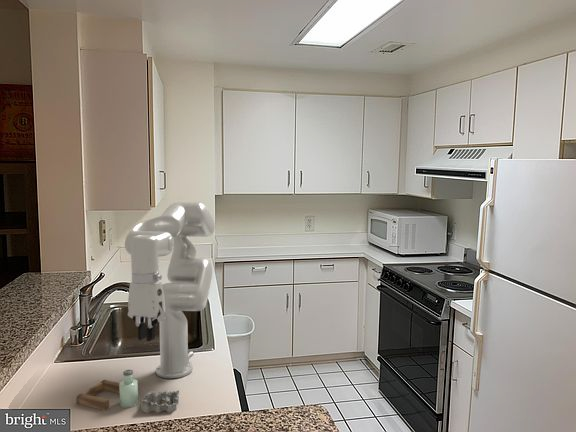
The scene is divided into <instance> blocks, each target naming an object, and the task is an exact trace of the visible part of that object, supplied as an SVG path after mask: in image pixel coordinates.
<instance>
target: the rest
mask: <svg viewBox="0 0 576 432" xmlns="http://www.w3.org/2000/svg"><path fill="white" fill-rule="evenodd" d="M119 383H120V382H118V381H117V382H116V381H111V380H107V379H103V380H101V381H100V382H98V383H96V384H95V385H92V387H89V388H88V389H86V390H85V391H83V392H81V393H79V394H78V395H76V404H77V405H81V406H85V407H89V408H94V409H98V410H102V411H103V410H104V411H106V410H108V409H109V408H110V399H108V398H104V397H100V396H99V397H98V396H96V395H98V394H99V393H101V392H102V391H106V392H111V393H116V394H120V389H119Z"/></svg>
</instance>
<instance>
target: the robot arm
mask: <svg viewBox="0 0 576 432" xmlns="http://www.w3.org/2000/svg"><path fill="white" fill-rule="evenodd" d="M215 228H216V223H215V220H214V217H213V215H212V214H211V212H210V209H208V207H207V206H206V205H205V204H203V203H201V202H198V201H195V202H191V201H190V202H189V201H188V202H187V201H184V202H183V201H179V202H173V203H171V204H169V206H168V207H167V208H166V209H165V210H164V211H163V213H162V214H161V215H159V216H156V217H153V218H150V219H147V220H144V221H141V222H139V223H138V224H136V225H135V226H134V227H132V228H131V230H130V231H129V232H128V233H127V235H126V237H125V240H124V248H125V251H126V252H127V253H128V254H129V255H130V259H131V260H130V263H131V266H130V267H131V268H130V269H131V282H130V283H129V288H128V298H127V299H128V300H127V303H128V306H127V307H128V308H127V309H128V311H127V316H128V318H131V319H132V320H133V322H134V323H135V326H136V327H137V338H138V339H137V341H138V340H139V341H141V340H143V339H145V338H146V341H147V342H151V341H153V340H154V339H155V338H156V327H157V325H158V324H159V349H160V350H159V357H160V358H159V361H160V362H159V363H160V364H159V365H157V367H156V368H155V375H156V376H158V377H159V378H163V379H178V378H183V377H185V376H187V375H190V373H192V371H193V364H192V363H191V362H190V361H189V360H190V358H192V357H193V356H194V355H195V354H194V352H193V351H192V350H191V351H189V346H188V343H189V340H188V339H189V338H188V333H189V332H188V326H189V325H188V319H187V317H186V315H185V314H184V312H200V311H202V310H204V309H205V308H206V306H207V303H208V299H209V294H210V288H211V283H212V278H213V267H212V263H211V262H210V261H209V260H208V259H206V258H198V257H197V258H196V256H197V250H196V247H195V246H194V244H193V243H192V242H191V241H190V240H189V239H188V238H187V237H190V238H191V237H193V238H194V237H195V238H198V237H199V238H200V237H201V238H202V237H203V238H206V237H211V236H212V235H213V234H214V232H215ZM171 252H172V255H171V257H170V261H169V264H168V269H167V275H166V277H167V280H168V282H166V283H162V281H160V280H162V278H163V276H162V275H160V269H159V266H160V265H159V258H160V257H165V256H166V257H167V256H168V255H169V254H170V253H171ZM146 318H147V323H146Z"/></svg>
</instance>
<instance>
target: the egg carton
mask: <svg viewBox="0 0 576 432" xmlns="http://www.w3.org/2000/svg"><path fill="white" fill-rule="evenodd" d="M179 395H180V390H176V391H174V390H173V391H168V390H166V391H154V390H151V391H149V392H147V393H146V394H144V397H143V398H142V399H141V400H140V404H141V412H144V413H145V414H148V413H150V412H156V413H161V412H163V411H166V412H167V413H172V412H174V411H177V409H178V404H179V402H180V400H179V398H180V397H179ZM172 402H173V403H172ZM159 403H161V404H159Z"/></svg>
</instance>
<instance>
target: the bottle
mask: <svg viewBox="0 0 576 432" xmlns="http://www.w3.org/2000/svg"><path fill="white" fill-rule="evenodd" d="M133 374H134V370H133V369H126V370H124V371H123V372H122V375H123V380H122V381H120V382H118V383H119V389H120V393H119V407H121V408H125V409H126V408H128V409H129V408H132V407H135V406H137V405H138V403H139V391H138V389H139V385H138V382H139V381H138V380H137V379H135V378H133Z"/></svg>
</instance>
